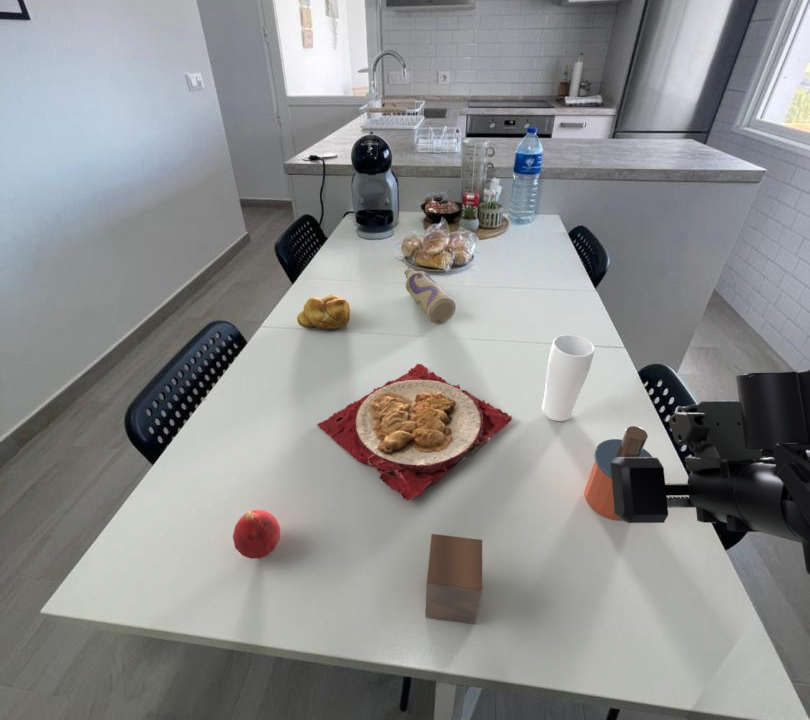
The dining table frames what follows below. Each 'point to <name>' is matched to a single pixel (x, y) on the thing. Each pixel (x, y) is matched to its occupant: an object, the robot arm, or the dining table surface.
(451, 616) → the block
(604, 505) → the orange cylindrical container
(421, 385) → the plate with food
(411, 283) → the decorative bottle
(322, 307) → the bread roll
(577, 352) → the drinking glass
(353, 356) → the dining table surface
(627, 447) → the lid
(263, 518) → the onion
